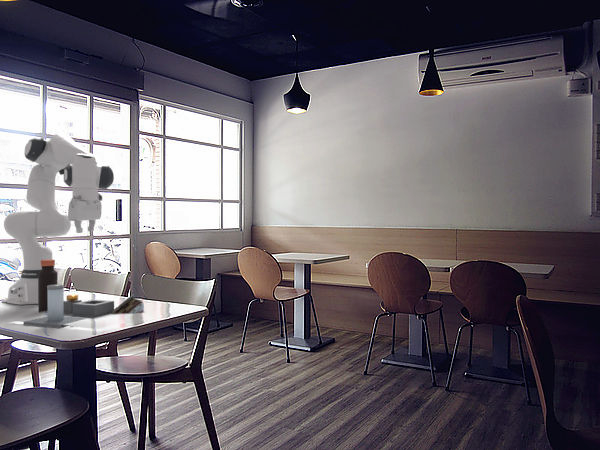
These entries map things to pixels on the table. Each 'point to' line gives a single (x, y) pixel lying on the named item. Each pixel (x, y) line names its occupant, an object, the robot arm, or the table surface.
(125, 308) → the chocolate cake
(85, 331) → the table surface
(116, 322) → the table surface
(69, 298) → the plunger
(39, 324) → the mat
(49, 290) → the block
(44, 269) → the bottle
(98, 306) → the block
